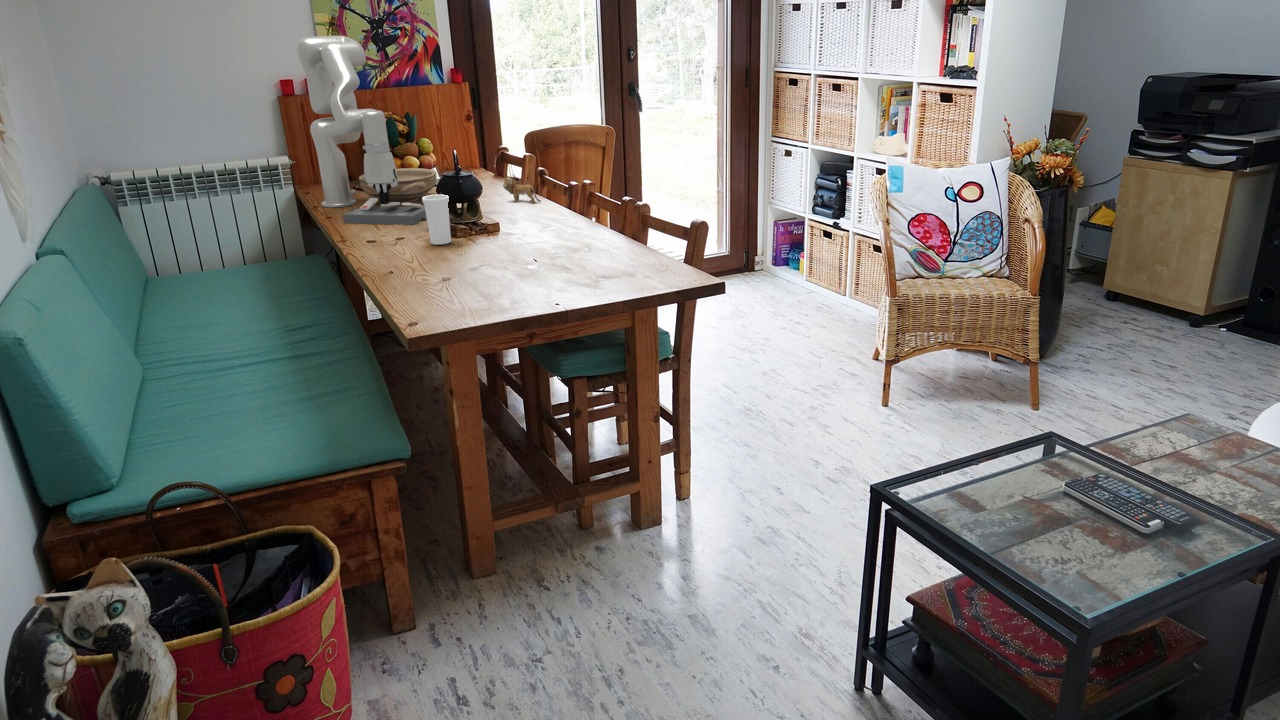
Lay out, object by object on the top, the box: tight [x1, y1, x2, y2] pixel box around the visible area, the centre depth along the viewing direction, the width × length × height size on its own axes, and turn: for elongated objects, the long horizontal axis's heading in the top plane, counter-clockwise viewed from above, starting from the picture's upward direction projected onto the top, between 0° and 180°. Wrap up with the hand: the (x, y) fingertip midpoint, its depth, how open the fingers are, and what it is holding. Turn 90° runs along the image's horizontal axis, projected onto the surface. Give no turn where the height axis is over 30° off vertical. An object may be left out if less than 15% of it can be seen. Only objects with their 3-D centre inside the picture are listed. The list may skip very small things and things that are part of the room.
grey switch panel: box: [342, 205, 427, 226], centre depth 299 cm, size 14×32×3 cm, turn 76°
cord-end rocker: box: [401, 202, 422, 207], centre depth 299 cm, size 8×3×1 cm, turn 166°
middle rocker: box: [380, 202, 401, 207], centre depth 300 cm, size 8×3×1 cm, turn 166°
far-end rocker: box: [359, 197, 379, 210], centre depth 302 cm, size 8×3×1 cm, turn 166°
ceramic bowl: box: [358, 167, 437, 205], centre depth 329 cm, size 37×29×10 cm
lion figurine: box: [502, 177, 542, 205], centre depth 319 cm, size 15×5×9 cm, turn 72°
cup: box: [421, 193, 452, 246], centre depth 263 cm, size 8×8×14 cm
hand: (385, 203), depth 297 cm, fingers closed
